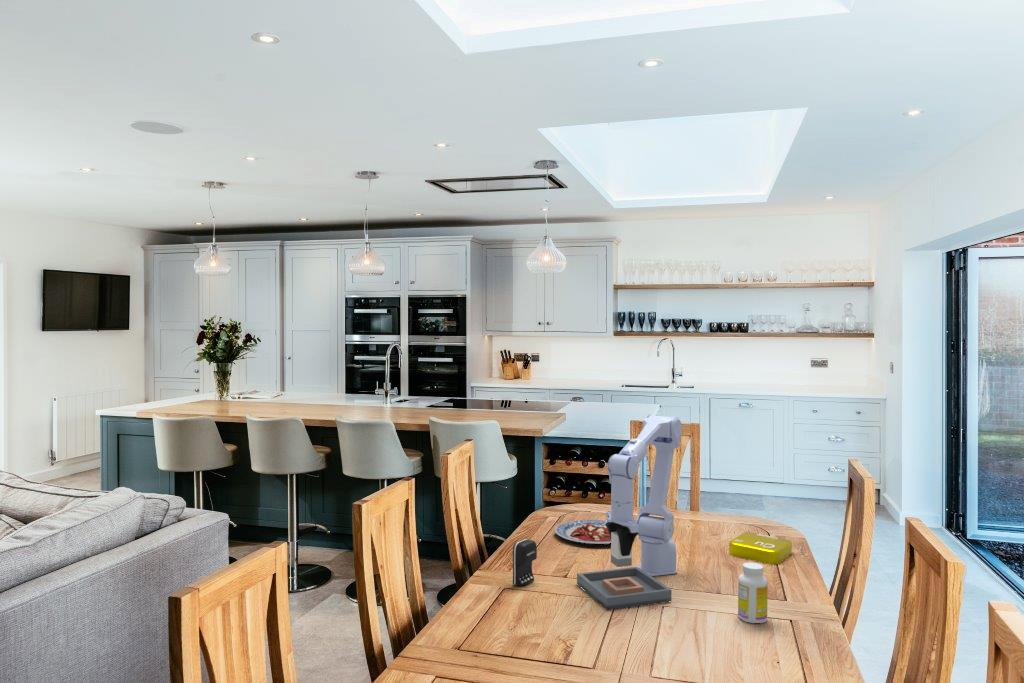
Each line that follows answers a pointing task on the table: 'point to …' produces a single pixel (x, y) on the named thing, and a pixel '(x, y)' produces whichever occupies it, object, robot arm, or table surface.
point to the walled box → (623, 588)
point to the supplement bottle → (752, 594)
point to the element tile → (760, 547)
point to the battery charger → (523, 561)
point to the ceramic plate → (585, 531)
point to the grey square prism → (619, 552)
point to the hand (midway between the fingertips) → (621, 552)
